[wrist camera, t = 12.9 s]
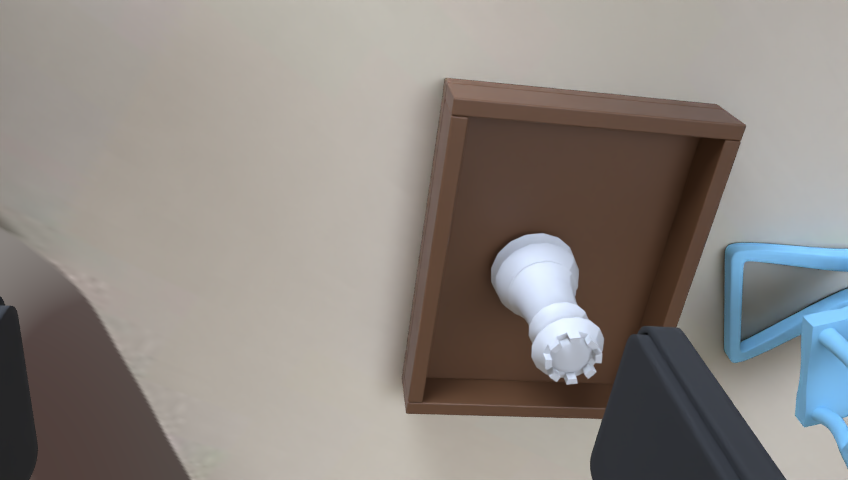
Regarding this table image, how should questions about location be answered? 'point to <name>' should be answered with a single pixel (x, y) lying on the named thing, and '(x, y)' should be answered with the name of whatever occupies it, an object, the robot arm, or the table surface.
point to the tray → (556, 234)
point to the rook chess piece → (548, 305)
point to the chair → (799, 333)
